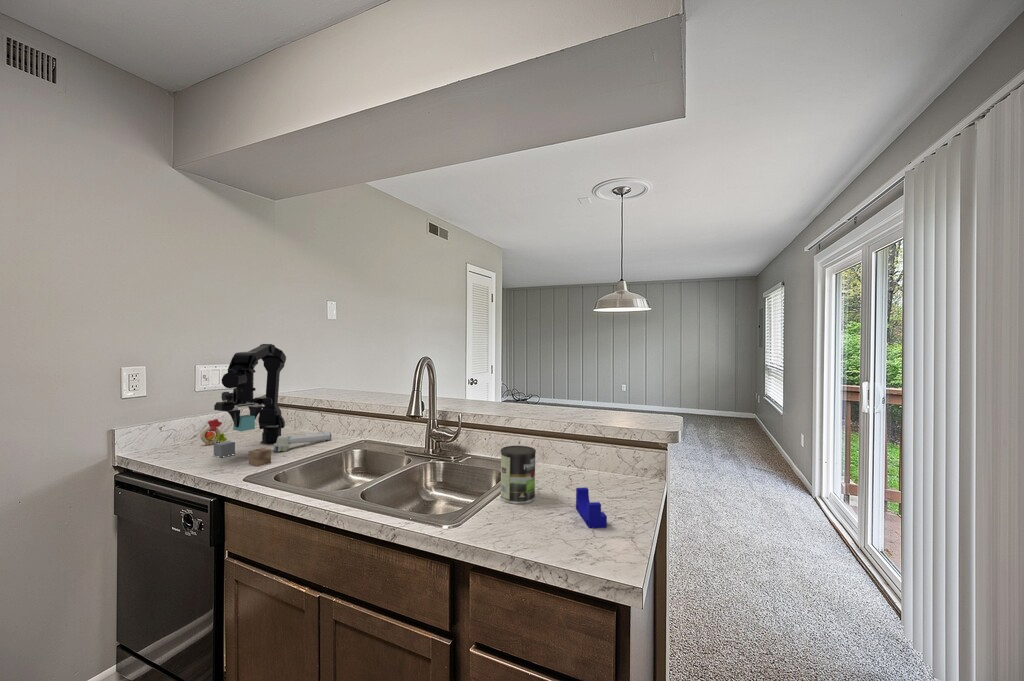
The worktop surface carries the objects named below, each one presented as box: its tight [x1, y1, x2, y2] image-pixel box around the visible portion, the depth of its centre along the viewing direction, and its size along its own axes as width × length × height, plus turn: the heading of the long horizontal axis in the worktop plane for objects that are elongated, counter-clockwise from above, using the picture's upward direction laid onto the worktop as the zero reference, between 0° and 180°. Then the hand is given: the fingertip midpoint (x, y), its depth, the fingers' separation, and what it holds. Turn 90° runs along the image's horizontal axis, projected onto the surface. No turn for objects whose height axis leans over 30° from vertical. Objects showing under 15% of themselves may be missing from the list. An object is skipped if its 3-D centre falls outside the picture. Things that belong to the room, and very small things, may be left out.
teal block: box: [232, 414, 256, 432], centre depth 160 cm, size 5×5×5 cm
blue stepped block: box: [575, 487, 608, 529], centre depth 109 cm, size 12×4×6 cm, turn 7°
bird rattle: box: [200, 418, 228, 446], centre depth 179 cm, size 6×11×9 cm
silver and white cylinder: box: [273, 431, 332, 453], centre depth 178 cm, size 5×7×25 cm
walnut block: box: [248, 447, 272, 467], centre depth 152 cm, size 5×5×5 cm
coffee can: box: [500, 445, 537, 505], centre depth 123 cm, size 10×10×14 cm
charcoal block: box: [213, 440, 236, 457], centre depth 162 cm, size 5×5×5 cm
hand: (244, 426), depth 160 cm, fingers closed on teal block, 5 cm apart
